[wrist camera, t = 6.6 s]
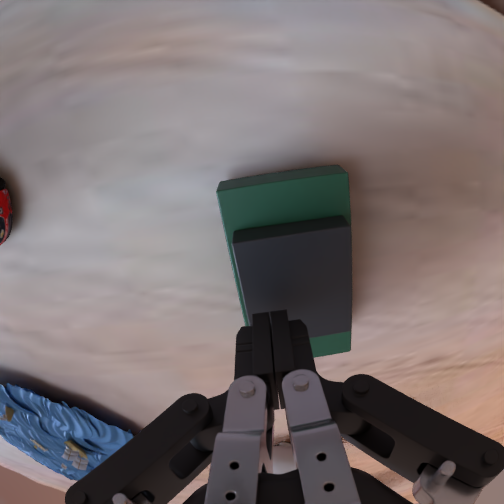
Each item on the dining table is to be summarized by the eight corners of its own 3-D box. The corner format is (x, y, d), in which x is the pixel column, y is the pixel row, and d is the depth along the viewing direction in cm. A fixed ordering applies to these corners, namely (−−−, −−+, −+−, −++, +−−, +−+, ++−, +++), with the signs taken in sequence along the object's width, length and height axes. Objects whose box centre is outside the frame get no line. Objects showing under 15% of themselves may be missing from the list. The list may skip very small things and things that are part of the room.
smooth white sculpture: (256, 447, 30) (256, 438, 27) (328, 444, 30) (339, 434, 27) (255, 482, 27) (255, 479, 24) (330, 479, 27) (342, 474, 24)
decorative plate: (220, 474, 34) (219, 508, 30) (83, 482, 40) (78, 505, 36) (32, 327, 21) (5, 371, 17) (-50, 381, 27) (-63, 405, 23)
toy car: (212, 200, 13) (358, 179, 12) (220, 177, 16) (334, 161, 16) (254, 383, 18) (356, 367, 17) (254, 338, 21) (341, 325, 21)
